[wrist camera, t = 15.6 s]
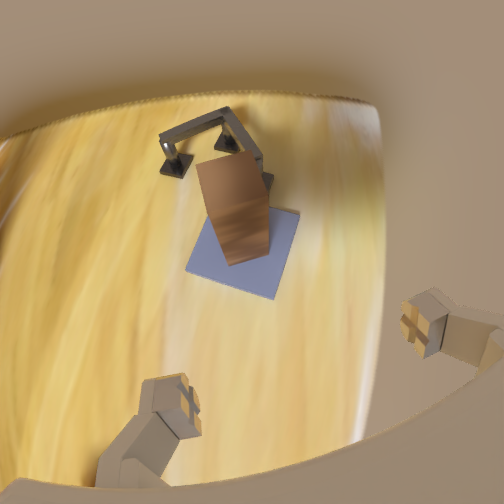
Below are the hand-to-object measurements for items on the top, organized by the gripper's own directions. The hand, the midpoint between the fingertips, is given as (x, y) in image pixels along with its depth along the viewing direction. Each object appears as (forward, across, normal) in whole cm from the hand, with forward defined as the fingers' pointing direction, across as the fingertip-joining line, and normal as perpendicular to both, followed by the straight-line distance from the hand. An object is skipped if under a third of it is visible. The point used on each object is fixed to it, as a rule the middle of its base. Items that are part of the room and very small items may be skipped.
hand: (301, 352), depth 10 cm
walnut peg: (+20, 0, +4) cm, 21 cm away
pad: (+21, 0, +4) cm, 21 cm away
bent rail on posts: (+28, 0, -3) cm, 28 cm away
